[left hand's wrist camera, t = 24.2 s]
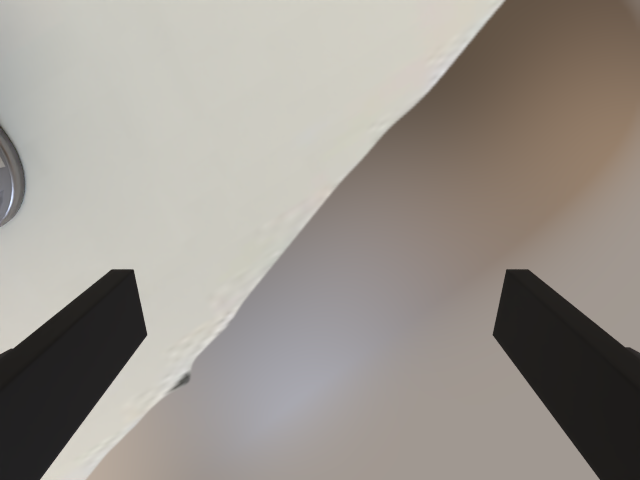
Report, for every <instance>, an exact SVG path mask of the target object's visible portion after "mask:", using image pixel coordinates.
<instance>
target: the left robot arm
mask: <svg viewBox="0 0 640 480" xmlns="http://www.w3.org/2000/svg"><path fill="white" fill-rule="evenodd" d="M24 188H25V182H24V173H23V169H22V165H21V162H20V159H19V157H18V154H17V152H16V150H15V148H14V146H13V145H12V143H11V141H10V140H9V138H8V137H7V136H6V134H5V133H4V132H3V130H2V129H1V128H0V226H2V225H4V224H5V223H7V222H8V221H9V220H11V219H12V218H13V217H14V215H15V214H16V213H17V211H18V210H19V208H20V206H21V203H22V200H23V196H24ZM146 336H147V331H146V326H145V322H144V317H143V312H142V307H141V303H140V298H139V293H138V288H137V284H136V279H135V274H134V269H112V270H111V271H109V272H108V273H107V274H106V275H104V276H103V277H102V278H101V279H99V280H98V281H97V282H96V283H94V284H93V285H92V286H91V287H89V288H88V289H87V290H86V291H84V292H83V293H82V294H81V295H79V296H78V297H77V298H76V299H74V300H73V301H72V302H71V303H69V304H68V305H67V306H66V307H65V308H63V309H62V310H61V311H60V312H58V313H57V314H56V315H55V316H53V317H52V318H51V319H50V320H48V321H47V322H46V323H45V324H43V325H42V326H41V327H40V328H38V329H37V330H36V331H35V332H33V333H32V334H31V335H30V336H28V337H27V338H26V339H25V340H23V341H22V342H21V343H20V344H18V345H17V346H16V347H15V348H14V349H9V350H8V351H6V352H4V353H2V354H0V480H40V479H41V478H42V476H43V475H44V474H45V472H46V471H47V470H48V468H49V467H50V465H51V464H52V463H53V461H54V460H55V459H56V457H57V456H58V455H59V453H60V452H61V451H62V449H63V448H64V447H65V445H66V444H67V443H68V441H69V440H70V439H71V437H72V436H73V434H74V433H75V432H76V430H77V429H78V428H79V426H80V425H81V424H82V422H83V421H84V420H85V418H86V417H87V416H88V414H89V413H90V412H91V410H92V409H93V407H94V406H95V405H96V403H97V402H98V401H99V399H100V398H101V397H102V395H103V394H104V393H105V391H106V390H107V389H108V387H109V386H110V385H111V383H112V382H113V381H114V379H115V378H116V376H117V375H118V374H119V372H120V371H121V370H122V368H123V367H124V366H125V364H126V363H127V362H128V360H129V359H130V358H131V356H132V355H133V354H134V352H135V351H136V350H137V348H138V347H139V345H140V344H141V343H142V341H143V340H144V339H145V337H146ZM493 336H494V337H495V339H496V340H497V341H498V343H499V344H500V345H501V347H502V348H503V350H504V351H505V352H506V354H507V355H508V356H509V358H510V359H511V360H512V362H513V363H514V364H515V366H516V367H517V368H518V370H519V371H520V372H521V374H522V375H523V376H524V378H525V379H526V381H527V382H528V383H529V385H530V386H531V387H532V389H533V390H534V391H535V393H536V394H537V395H538V397H539V398H540V399H541V401H542V402H543V403H544V405H545V406H546V407H547V409H548V410H549V411H550V413H551V414H552V416H553V417H554V418H555V420H556V421H557V422H558V424H559V425H560V426H561V428H562V429H563V430H564V432H565V433H566V434H567V436H568V437H569V438H570V440H571V441H572V443H573V444H574V445H575V447H576V448H577V449H578V451H579V452H580V453H581V455H582V456H583V457H584V459H585V460H586V461H587V463H588V464H589V465H590V467H591V468H592V470H593V471H594V472H595V474H596V475H597V476H598V478H599V479H600V480H640V353H639V352H637V351H635V350H633V349H631V348H628V347H624V346H623V345H621V344H620V343H619V342H618V341H617V340H615V339H614V338H613V337H612V336H610V335H609V334H608V333H607V332H605V331H604V330H603V329H602V328H600V327H599V326H598V325H597V324H595V323H594V322H593V321H592V320H590V319H589V318H588V317H587V316H585V315H584V314H583V313H582V312H580V311H579V310H578V309H577V308H575V307H574V306H573V305H572V304H571V303H569V302H568V301H567V300H566V299H564V298H563V297H562V296H561V295H559V294H558V293H557V292H556V291H554V290H553V289H552V288H551V287H549V286H548V285H547V284H546V283H544V282H543V281H542V280H541V279H539V278H538V277H537V276H536V275H534V274H533V273H532V272H531V271H529V270H528V269H527V270H526V269H525V270H523V269H522V270H521V269H520V270H519V269H518V270H517V269H509V270H508V269H507V270H506V274H505V279H504V284H503V288H502V293H501V298H500V303H499V308H498V312H497V317H496V322H495V326H494V331H493Z"/></svg>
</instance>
